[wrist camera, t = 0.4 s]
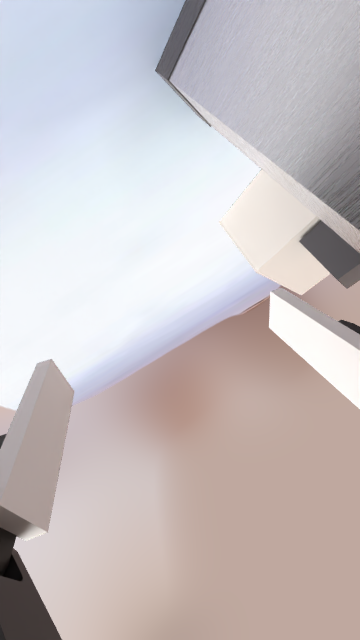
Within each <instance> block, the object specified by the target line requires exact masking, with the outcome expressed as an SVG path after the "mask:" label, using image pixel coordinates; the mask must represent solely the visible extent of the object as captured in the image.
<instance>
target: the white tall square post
mask: <svg viewBox="0 0 360 640" xmlns="http://www.w3.org/2000/svg"><path fill="white" fill-rule="evenodd" d="M155 71H156V72H157V73H158V74H159V75H160V76H161V77H162V78H163V79H164V80H165V81H166V83H167V84H168V85H169V86H170V87H171V88H172V89H173V90H174V91H175V92H176V93H177V94H178V95H179V96H180V97H181V98H182V99H183V101H184V102H185V103H186V104H187V105H188V106H189V107H190V108H191V109H192V110H193V111H194V112H195V113H196V114H197V115H198V116H199V117H200V118H201V119H202V120H203V121H205V122H206V123H207V124H208V125H209V126H210V127H211V126H212V127H213V128H214V129H215V130H217V131H218V132H219V133H220V134H221V135H222V136H224V137H225V138H226V139H227V140H228V141H229V142H231V143H232V144H233V145H234V146H235V147H236V148H238V149H239V150H240V151H241V152H242V153H243V154H245V155H246V156H247V157H248V158H249V159H250V160H252V161H253V162H254V163H255V164H256V165H257V166H259V167H260V168H261V169H262V170H263V171H264V172H266V173H267V174H268V175H269V176H270V177H271V178H273V179H274V180H275V181H276V182H277V183H278V184H280V185H281V186H282V187H283V188H284V189H285V190H287V191H288V192H289V193H290V194H291V195H292V196H294V197H295V198H296V199H297V200H298V201H299V202H300V203H302V204H303V205H304V206H305V207H306V208H307V209H309V210H310V211H311V212H312V213H313V214H314V215H316V216H317V217H318V218H319V219H320V220H321V221H323V222H324V223H325V224H326V225H327V226H328V227H330V228H331V229H332V230H333V231H334V232H335V233H337V234H338V235H339V236H340V237H341V238H342V239H344V240H345V241H346V242H347V243H348V244H349V245H351V246H352V247H353V248H354V249H355V250H356V251H358V252H359V253H360V0H186V1H185V3H184V5H183V8H182V10H181V12H180V15H179V17H178V19H177V22H176V24H175V26H174V28H173V31H172V33H171V35H170V38H169V40H168V42H167V45H166V47H165V49H164V52H163V54H162V56H161V59H160V61H159V63H158V66H157V68H156V70H155Z"/></svg>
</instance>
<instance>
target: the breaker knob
mask: <svg viewBox="0 0 360 640" xmlns="http://www.w3.org/2000/svg"><path fill="white" fill-rule="evenodd" d="M299 242H300V243H301V244H302V245H303V246H304V247H305V248H306V249H307V250H308V251H309V252H310V253H311V254H312V255H313V256H314V257H315V258H316V259H317V260H318V261H319V262H320V263H321V264H322V265H323V266H324V267H325V268H326V269H327V270H328V271H329V272H330V273H331V274H332V275H333V276H334V277H335V278H336V279H337V280H338V281H339V282H340V283H341V284H343V286H345V287H346V288H349V287H350V286H352V285H353V284H355V283H356V282H358V281H359V280H360V253H359V252H358V251H356V250H355V249H354V248H353V247H352V246H351V245H349V244H348V243H347V242H346V241H345V240H344V239H342V238H341V237H340V236H339V235H338V234H337V233H335V232H334V231H333V230H332V229H331V228H330V227H328V226H327V225H326V224H325V223H324V222H323V221H321V222H320V223H319V224H317V225H316V226H315V227H314V228H313V229H312V230H311V231H310V232H309V233H307V234H306V235H305V236H304V237H303V238H302V239H301V240H300V241H299Z"/></svg>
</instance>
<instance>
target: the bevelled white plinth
mask: <svg viewBox="0 0 360 640" xmlns="http://www.w3.org/2000/svg"><path fill="white" fill-rule="evenodd" d="M320 222H321V220H320V219H319V218H318V217H317V216H316V215H314V214H313V213H312V212H311V211H310V210H309V209H307V208H306V207H305V206H304V205H303V204H302V203H300V202H299V201H298V200H297V199H296V198H295V197H294V196H292V195H291V194H290V193H289V192H288V191H287V190H285V189H284V188H283V187H282V186H281V185H280V184H278V183H277V182H276V181H275V180H274V179H273V178H271V177H270V176H269V175H268V174H267V173H266V172H264V171H263V170H262V169H261V170H260V172H259V173H258V174H257V175H256V177H255V178H254V179H253V180H252V182H251V183H250V184H249V185H248V186H247V188H246V189H245V190H244V191H243V193H242V194H241V195H240V196H239V198H238V199H237V200H236V201H235V203H234V204H233V205H232V206H231V207H230V209H229V210H228V211H227V212H226V214H225V215H224V216H223V217H222V219H221V220H220V221H219V223H220V225H221V226H222V227H223V229H224V230H225V231H226V233H227V234H228V235H229V237H230V238H231V239H232V241H233V242H234V244H235V245H236V246H237V248H238V249H239V250H240V252H241V253H242V254H243V256H244V257H245V258H246V260H247V261H248V262H249V264H250V265H251V266H252V268H253V269H254V270H255V272H256V273H258V274H260V275H262V276H264V277H266V278H268V279H270V280H272V281H274V282H276V283H278V284H280V285H282V286H284V287H286V288H288V289H290V290H292V291H294V292H296V293H298V294H300V295H302V294H303V293H305V292H306V291H308V290H309V289H310V288H312V287H313V286H314V285H316V284H317V283H318V282H320V281H321V280H322V279H324V278H325V277H326V276H328V275H329V274H330V272H329V271H328V270H327V269H326V268H325V267H324V266H323V265H322V264H321V263H320V262H319V261H318V260H317V259H316V258H315V257H314V256H313V255H312V254H311V253H310V252H309V251H308V250H307V249H306V248H305V247H304V246H303V245H302V244H301V243H300V242H299V241H300V240H301V239H302V238H303V237H304V236H305V235H306V234H307V233H309V232H310V231H311V230H312V229H313V228H314V227H315V226H316V225H317V224H319V223H320Z"/></svg>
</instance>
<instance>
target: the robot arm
mask: <svg viewBox="0 0 360 640" xmlns="http://www.w3.org/2000/svg"><path fill="white" fill-rule="evenodd" d="M269 317H270V318H269V328H270V329H271V330H272V331H273V332H275V333H276V334H277V335H278V336H279V337H280V338H281V339H282V340H283V341H285V342H286V343H287V344H288V345H289V346H290V347H291V348H292V349H293V350H294V351H296V352H297V353H298V354H299V355H300V356H301V357H302V358H304V359H305V360H306V361H307V362H308V363H309V364H310V365H311V366H312V367H313V368H314V369H316V370H317V371H318V372H319V373H320V374H321V375H322V376H323V377H325V378H326V379H327V380H328V381H329V382H330V383H331V384H332V385H333V386H334V387H336V388H337V389H338V390H339V391H340V392H341V393H342V394H343V395H344V396H346V397H347V398H348V399H349V400H350V401H351V402H352V403H353V404H355V405H356V406H357V407H358V408H359V409H360V327H359V326H357V325H355V324H353V323H350V322H347V321H344V320H340V321H336V320H334V319H333V318H331V317H329V316H328V315H326V314H325V313H323V312H321V311H320V310H318V309H316V308H314V307H313V306H311V305H310V304H308V303H306V302H304V301H303V300H301V299H299V298H298V297H296V296H294V295H293V294H291V293H289V292H288V291H286V290H284V289H283V288H280V289H277V290H273V291H270V316H269ZM73 396H74V390H73V389H72V387H71V386H70V384H69V383H68V382H67V380H66V379H65V377H64V376H63V375H62V373H61V372H60V370H59V369H58V367H57V366H56V365H55V363H54V362H53V360H52V359H50V360H47V361H43V362H40V363H37V365H36V367H35V370H34V372H33V374H32V377H31V379H30V381H29V384H28V386H27V388H26V390H25V393H24V395H23V397H22V400H21V402H20V404H19V407H18V409H17V411H16V414H15V416H14V418H13V421H12V423H11V425H10V428H9V430H8V433H7V434H5V435H2V436H0V640H62V639H61V637H60V635H59V633H58V631H57V629H56V627H55V625H54V623H53V621H52V619H51V617H50V615H49V613H48V611H47V609H46V607H45V605H44V603H43V601H42V600H41V597H40V595H39V593H38V591H37V590H36V587H35V586H34V584H33V582H32V579H31V578H30V576H29V574H28V572H27V570H26V568H25V566H24V564H23V562H22V560H21V558H20V556H19V554H18V552H17V551H16V550H15V549H14V548H13V546H14V543H15V539H16V536H17V537H19V538H21V539H23V540H25V541H27V540H29V539H32V538H34V537H37V536H40V535H42V534H45V533H47V532H48V528H49V523H50V518H51V513H52V507H53V502H54V497H55V491H56V486H57V481H58V476H59V470H60V465H61V460H62V454H63V449H64V443H65V439H66V433H67V428H68V423H69V417H70V412H71V407H72V402H73Z"/></svg>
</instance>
